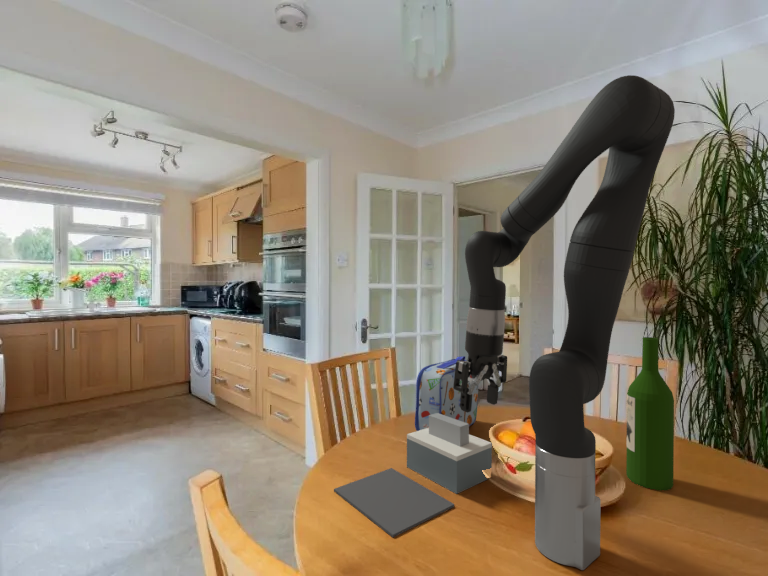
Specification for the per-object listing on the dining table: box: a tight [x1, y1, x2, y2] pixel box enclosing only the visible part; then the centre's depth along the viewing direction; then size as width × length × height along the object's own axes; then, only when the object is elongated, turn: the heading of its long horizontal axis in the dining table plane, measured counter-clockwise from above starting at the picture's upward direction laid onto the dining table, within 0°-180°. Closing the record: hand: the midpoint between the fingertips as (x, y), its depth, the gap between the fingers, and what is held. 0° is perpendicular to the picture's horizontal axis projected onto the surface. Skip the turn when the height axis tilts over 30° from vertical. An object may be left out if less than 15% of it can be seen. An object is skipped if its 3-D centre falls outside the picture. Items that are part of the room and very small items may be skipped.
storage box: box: [406, 438, 493, 495], centre depth 95 cm, size 16×12×7 cm
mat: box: [333, 467, 455, 538], centre depth 83 cm, size 20×16×1 cm
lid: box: [406, 413, 493, 461], centre depth 95 cm, size 16×12×6 cm
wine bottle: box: [625, 336, 675, 491], centre depth 91 cm, size 9×9×32 cm
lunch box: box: [414, 356, 479, 432], centre depth 123 cm, size 28×10×22 cm, turn 143°
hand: (479, 407), depth 83 cm, fingers open, 8 cm apart
